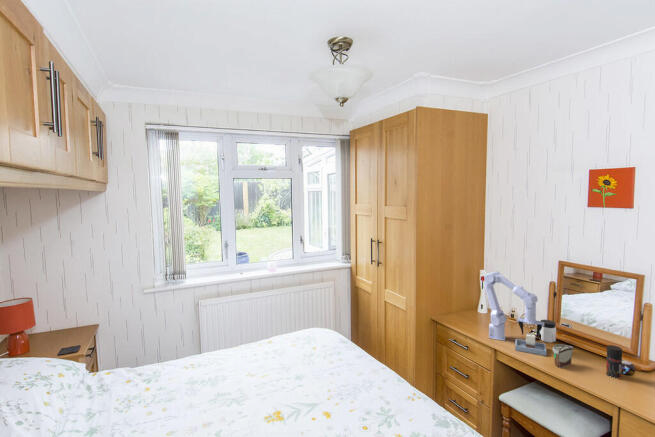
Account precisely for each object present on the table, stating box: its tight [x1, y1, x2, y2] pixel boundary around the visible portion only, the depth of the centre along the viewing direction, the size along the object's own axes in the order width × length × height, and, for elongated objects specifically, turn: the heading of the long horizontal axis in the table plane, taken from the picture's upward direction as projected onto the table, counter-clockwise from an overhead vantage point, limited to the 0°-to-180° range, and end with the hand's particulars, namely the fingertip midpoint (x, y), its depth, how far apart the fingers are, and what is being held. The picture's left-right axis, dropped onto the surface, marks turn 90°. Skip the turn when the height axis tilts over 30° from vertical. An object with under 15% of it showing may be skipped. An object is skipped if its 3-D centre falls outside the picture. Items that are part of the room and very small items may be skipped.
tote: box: [514, 338, 547, 357], centre depth 204 cm, size 16×11×3 cm
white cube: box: [525, 332, 536, 344], centre depth 203 cm, size 4×4×4 cm
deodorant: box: [605, 344, 623, 379], centre depth 173 cm, size 6×6×15 cm
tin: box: [526, 343, 535, 349], centre depth 204 cm, size 5×5×4 cm
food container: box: [551, 343, 574, 369], centre depth 186 cm, size 12×6×10 cm, turn 111°
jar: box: [539, 319, 557, 343], centre depth 216 cm, size 9×8×12 cm
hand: (529, 335), depth 205 cm, fingers open, 7 cm apart
